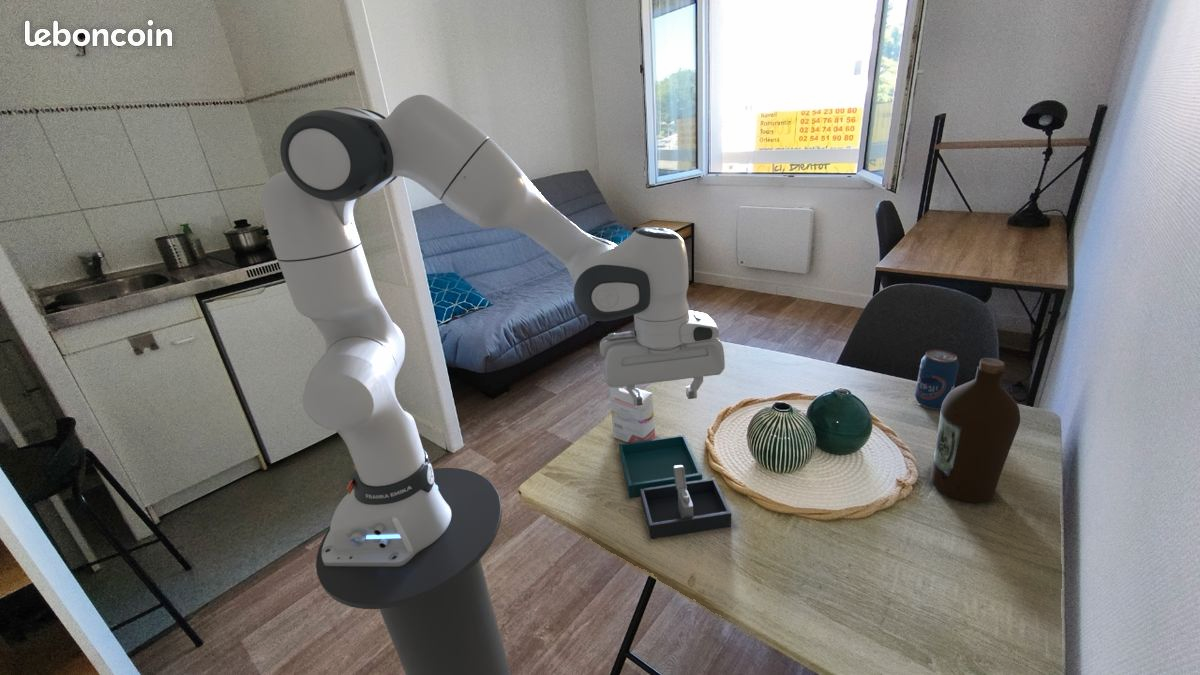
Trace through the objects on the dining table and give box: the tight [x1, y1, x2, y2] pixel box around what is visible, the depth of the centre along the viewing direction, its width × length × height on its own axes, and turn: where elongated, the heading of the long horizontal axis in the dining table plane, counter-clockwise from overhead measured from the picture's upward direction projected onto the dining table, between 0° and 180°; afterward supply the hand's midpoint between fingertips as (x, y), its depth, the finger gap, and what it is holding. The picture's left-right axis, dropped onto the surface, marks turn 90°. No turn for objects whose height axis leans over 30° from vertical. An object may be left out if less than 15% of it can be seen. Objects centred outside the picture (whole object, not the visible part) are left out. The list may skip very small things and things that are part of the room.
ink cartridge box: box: [608, 386, 656, 443], centre depth 110 cm, size 9×5×15 cm, turn 50°
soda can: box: [914, 349, 960, 410], centre depth 111 cm, size 7×7×12 cm
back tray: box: [618, 434, 703, 499], centre depth 101 cm, size 14×13×3 cm
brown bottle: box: [930, 357, 1021, 504], centre depth 85 cm, size 11×11×25 cm
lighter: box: [673, 465, 693, 519], centre depth 89 cm, size 7×2×8 cm, turn 6°
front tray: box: [640, 477, 732, 540], centre depth 90 cm, size 14×9×3 cm, turn 96°
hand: (664, 400), depth 87 cm, fingers open, 8 cm apart
